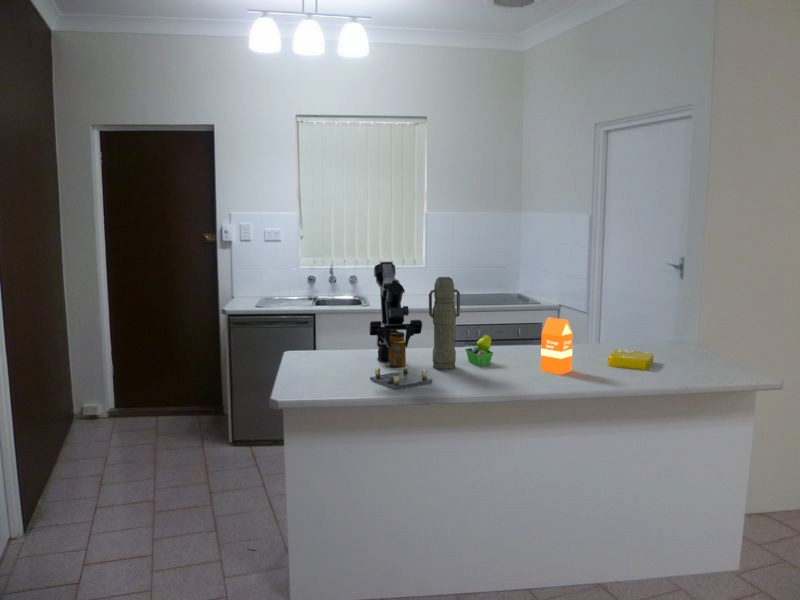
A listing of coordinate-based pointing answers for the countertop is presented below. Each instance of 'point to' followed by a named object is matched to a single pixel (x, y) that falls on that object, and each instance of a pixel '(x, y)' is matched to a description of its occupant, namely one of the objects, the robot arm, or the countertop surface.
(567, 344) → the orange juice
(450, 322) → the thermos
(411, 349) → the countertop surface
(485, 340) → the fruit basket
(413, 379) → the chassis plate
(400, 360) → the condiment
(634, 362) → the element tile
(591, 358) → the countertop surface
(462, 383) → the countertop surface
